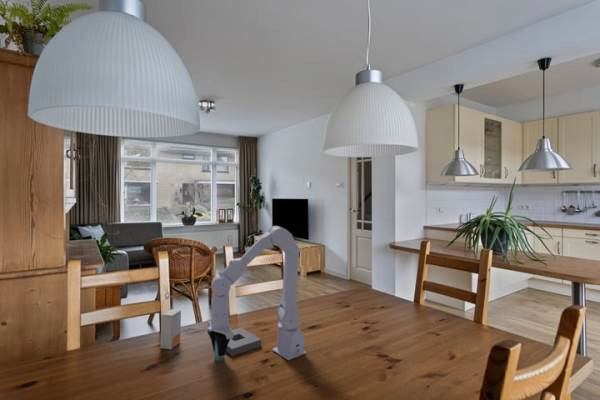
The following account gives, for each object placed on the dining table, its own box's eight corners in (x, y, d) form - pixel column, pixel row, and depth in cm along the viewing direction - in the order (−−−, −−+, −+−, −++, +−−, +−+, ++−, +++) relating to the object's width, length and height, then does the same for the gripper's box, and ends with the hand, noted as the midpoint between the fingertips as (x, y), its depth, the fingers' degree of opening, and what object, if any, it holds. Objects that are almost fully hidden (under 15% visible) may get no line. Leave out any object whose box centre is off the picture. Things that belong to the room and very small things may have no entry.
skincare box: (171, 349, 114) (171, 315, 114) (160, 348, 115) (160, 314, 115) (180, 342, 120) (181, 309, 120) (170, 341, 121) (171, 309, 121)
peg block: (261, 346, 118) (261, 339, 118) (231, 356, 110) (231, 349, 110) (241, 333, 128) (241, 327, 128) (213, 342, 120) (213, 335, 120)
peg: (225, 359, 108) (225, 341, 108) (217, 362, 106) (217, 343, 106) (221, 355, 110) (221, 338, 110) (213, 358, 108) (213, 340, 108)
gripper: (199, 309, 111) (198, 348, 111) (219, 321, 100) (218, 365, 100) (218, 304, 115) (217, 342, 115) (239, 316, 104) (238, 358, 104)
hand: (219, 353), depth 108 cm, fingers closed on peg, 3 cm apart
